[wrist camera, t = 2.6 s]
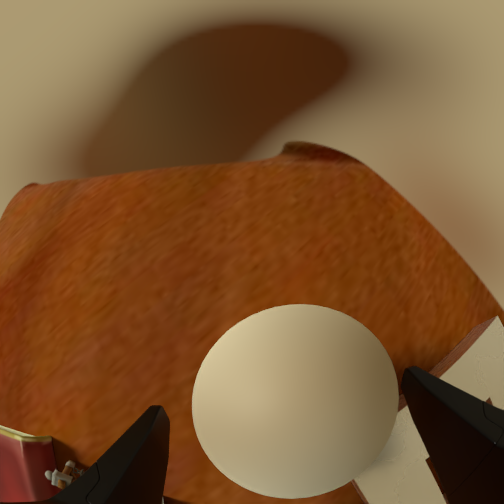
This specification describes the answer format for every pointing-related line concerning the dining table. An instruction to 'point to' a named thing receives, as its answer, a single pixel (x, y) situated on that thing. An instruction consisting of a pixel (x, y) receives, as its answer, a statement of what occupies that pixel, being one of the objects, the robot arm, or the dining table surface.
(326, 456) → the ball
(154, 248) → the dining table surface
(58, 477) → the wooden post with brackets
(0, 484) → the hardcover book
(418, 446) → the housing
